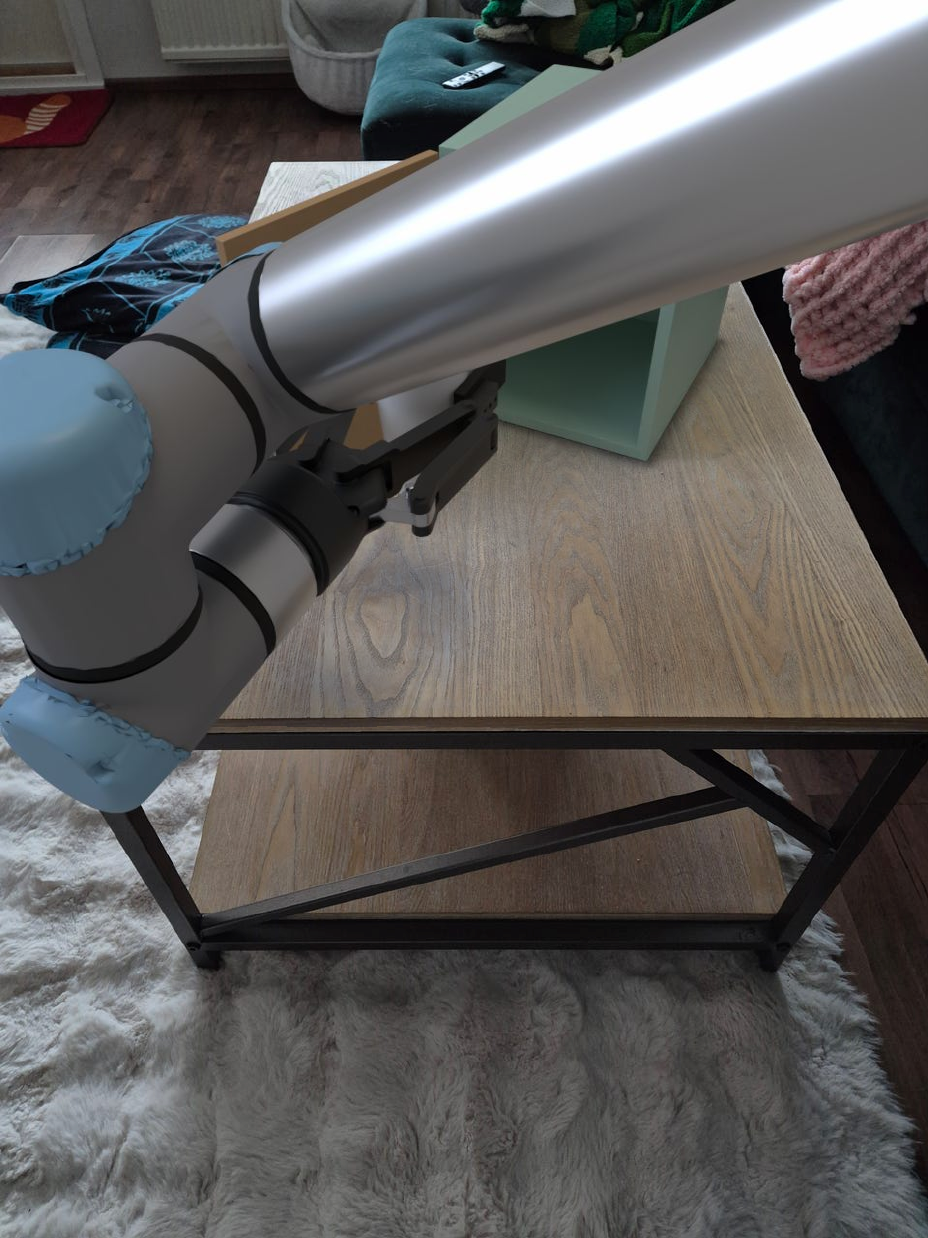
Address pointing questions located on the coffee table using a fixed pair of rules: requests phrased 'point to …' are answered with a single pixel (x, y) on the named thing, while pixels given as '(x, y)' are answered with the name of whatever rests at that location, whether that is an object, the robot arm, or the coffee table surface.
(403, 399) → the drinking glass
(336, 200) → the fridge door
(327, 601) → the coffee table surface
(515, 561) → the coffee table surface
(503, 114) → the box
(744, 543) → the coffee table surface
